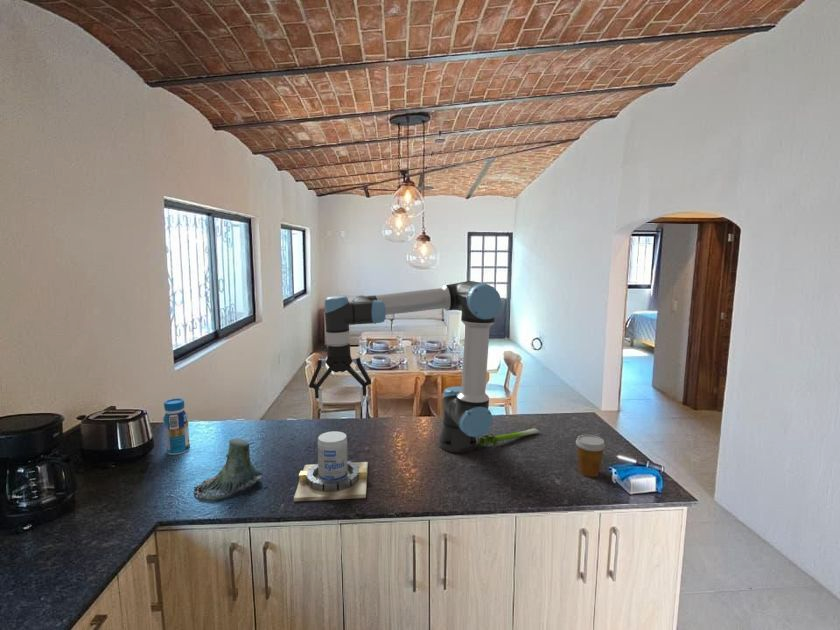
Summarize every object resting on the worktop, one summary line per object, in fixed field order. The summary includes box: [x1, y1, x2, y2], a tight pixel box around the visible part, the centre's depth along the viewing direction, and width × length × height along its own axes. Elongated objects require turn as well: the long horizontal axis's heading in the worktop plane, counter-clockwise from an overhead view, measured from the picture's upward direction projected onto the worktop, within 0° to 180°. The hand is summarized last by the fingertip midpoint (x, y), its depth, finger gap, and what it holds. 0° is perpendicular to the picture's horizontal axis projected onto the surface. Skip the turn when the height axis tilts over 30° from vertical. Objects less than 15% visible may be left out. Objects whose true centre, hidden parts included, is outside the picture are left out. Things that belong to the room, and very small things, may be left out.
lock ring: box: [298, 460, 368, 492], centre depth 157 cm, size 22×17×2 cm
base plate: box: [293, 461, 369, 502], centre depth 157 cm, size 22×22×1 cm
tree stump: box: [193, 438, 263, 502], centre depth 155 cm, size 18×20×18 cm
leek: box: [477, 427, 540, 449], centre depth 189 cm, size 6×7×30 cm
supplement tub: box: [317, 430, 349, 481], centre depth 156 cm, size 10×10×15 cm
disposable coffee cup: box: [575, 434, 606, 478], centre depth 162 cm, size 10×10×12 cm
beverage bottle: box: [162, 398, 191, 456], centre depth 181 cm, size 8×8×20 cm
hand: (341, 406), depth 157 cm, fingers open, 13 cm apart
